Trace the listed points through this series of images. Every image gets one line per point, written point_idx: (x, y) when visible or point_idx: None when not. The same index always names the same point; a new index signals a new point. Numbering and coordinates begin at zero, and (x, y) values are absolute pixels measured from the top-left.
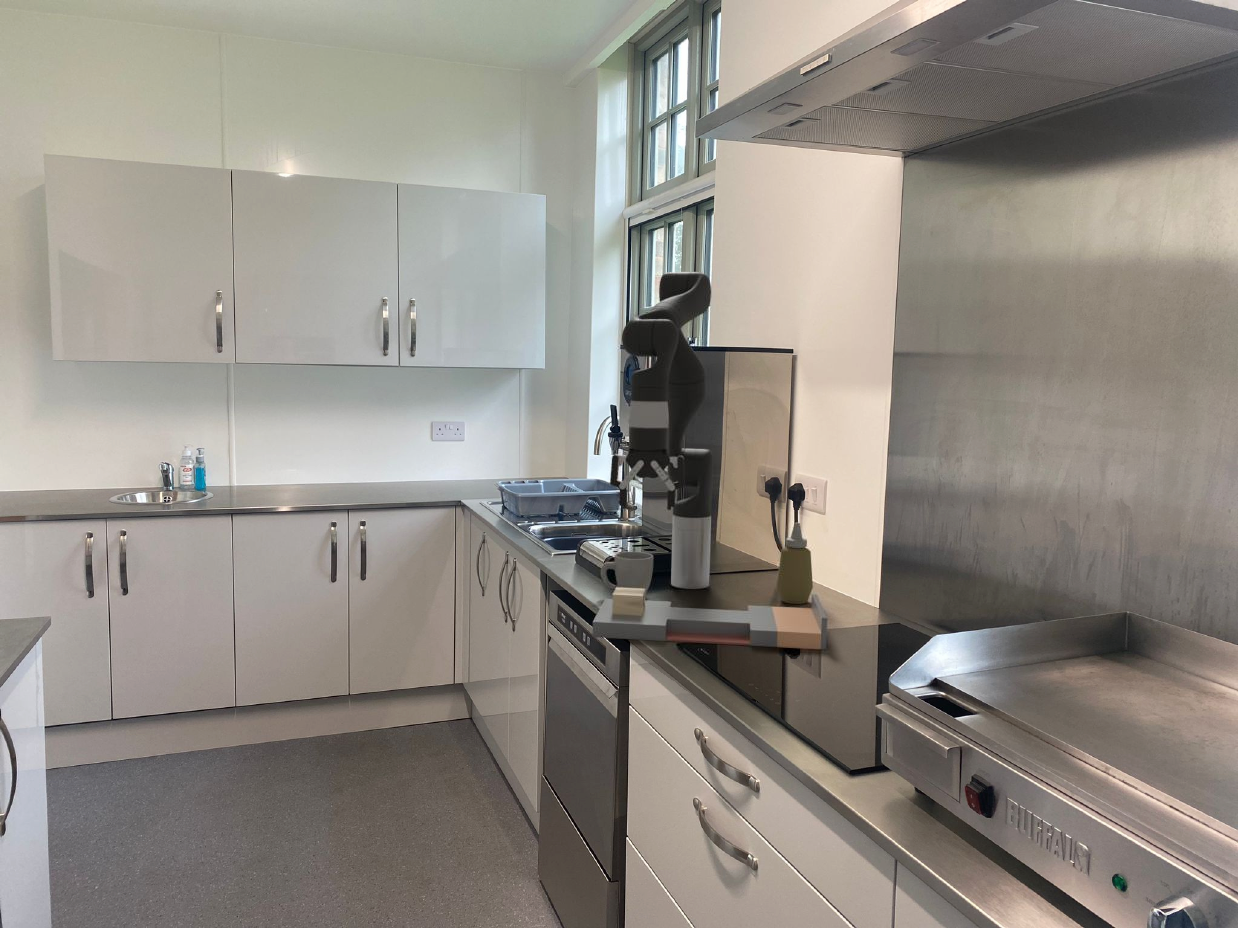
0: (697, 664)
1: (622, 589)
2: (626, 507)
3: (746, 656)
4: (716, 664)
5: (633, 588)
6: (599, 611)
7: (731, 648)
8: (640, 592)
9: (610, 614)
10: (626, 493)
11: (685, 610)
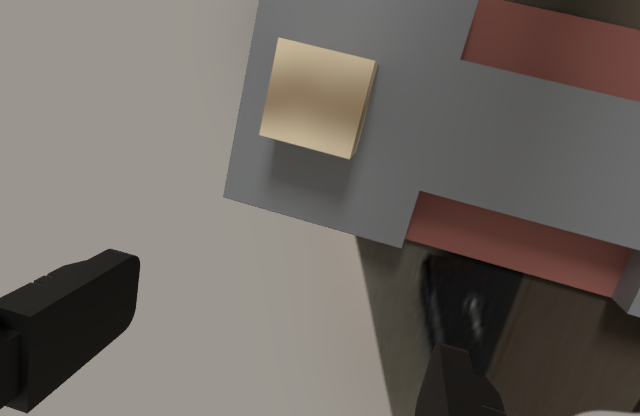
0: None
1: (296, 69)
2: (128, 323)
3: (563, 364)
4: None
5: (334, 55)
6: (244, 99)
7: (549, 308)
8: (349, 113)
9: None
10: (50, 390)
11: (500, 103)
